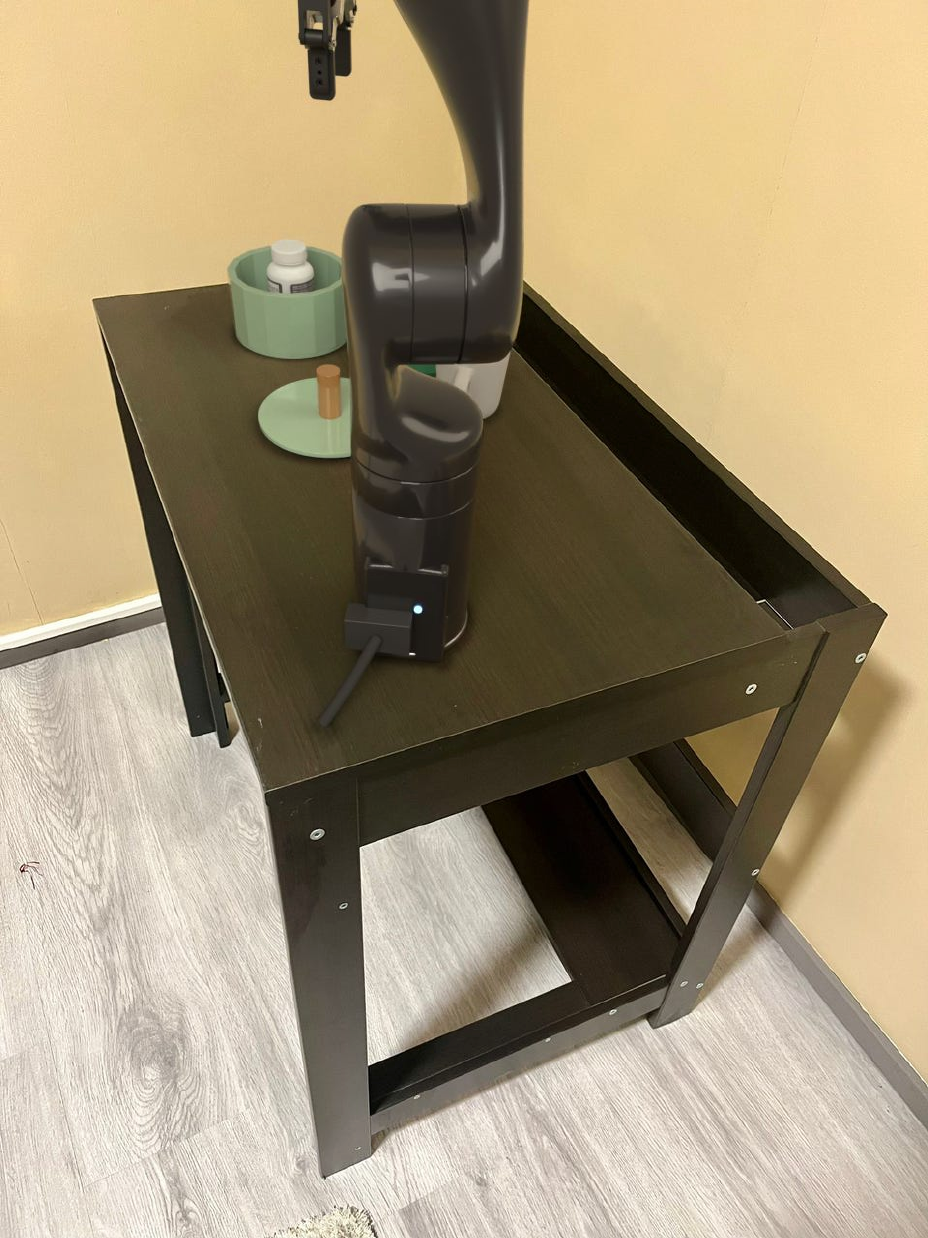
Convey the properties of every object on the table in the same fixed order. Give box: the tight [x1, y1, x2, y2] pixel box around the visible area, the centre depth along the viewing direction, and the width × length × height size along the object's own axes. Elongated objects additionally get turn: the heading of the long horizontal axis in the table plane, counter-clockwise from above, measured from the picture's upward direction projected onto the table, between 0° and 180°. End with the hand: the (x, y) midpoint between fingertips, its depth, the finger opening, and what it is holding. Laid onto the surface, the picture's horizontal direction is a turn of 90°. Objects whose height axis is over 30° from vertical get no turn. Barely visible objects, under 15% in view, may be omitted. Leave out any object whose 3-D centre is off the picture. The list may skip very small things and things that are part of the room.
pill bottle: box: [267, 238, 315, 294], centre depth 105 cm, size 5×5×10 cm
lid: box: [257, 363, 351, 459], centre depth 93 cm, size 15×15×6 cm
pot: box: [226, 245, 347, 360], centre depth 106 cm, size 14×14×8 cm
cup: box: [436, 350, 512, 420], centre depth 95 cm, size 11×8×8 cm
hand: (331, 86), depth 82 cm, fingers open, 8 cm apart
